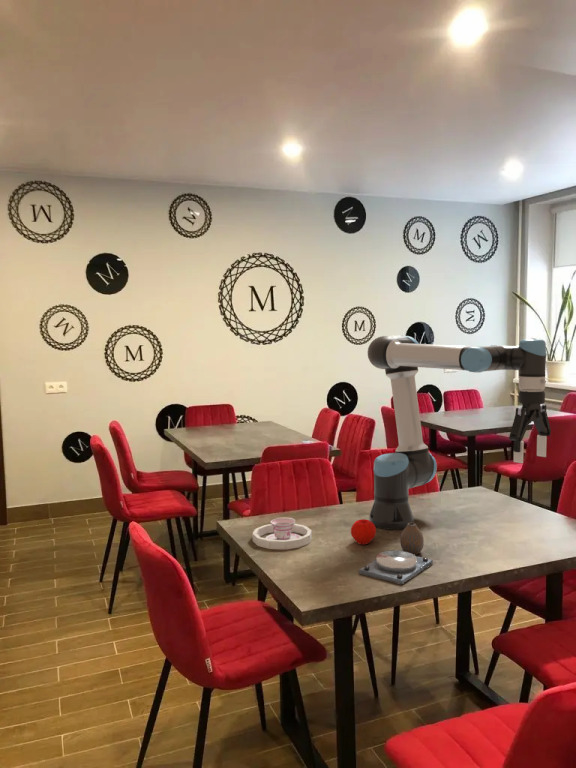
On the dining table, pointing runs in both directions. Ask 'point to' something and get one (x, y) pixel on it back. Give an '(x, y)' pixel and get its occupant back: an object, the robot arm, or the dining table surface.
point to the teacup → (282, 529)
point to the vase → (411, 539)
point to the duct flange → (395, 566)
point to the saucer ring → (282, 543)
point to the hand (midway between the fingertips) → (530, 459)
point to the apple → (363, 531)
